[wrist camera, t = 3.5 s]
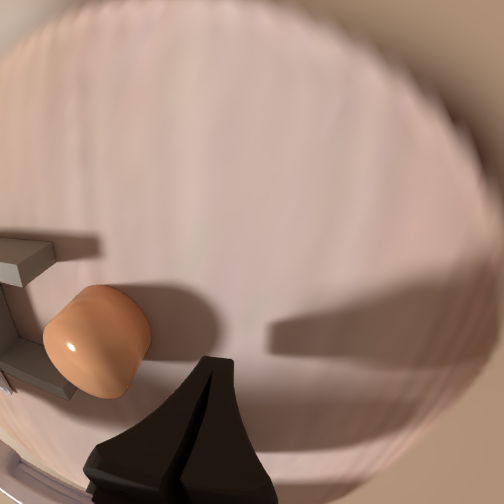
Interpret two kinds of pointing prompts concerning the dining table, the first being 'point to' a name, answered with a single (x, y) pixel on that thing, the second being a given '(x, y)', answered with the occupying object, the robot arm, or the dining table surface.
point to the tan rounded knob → (98, 341)
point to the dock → (3, 329)
